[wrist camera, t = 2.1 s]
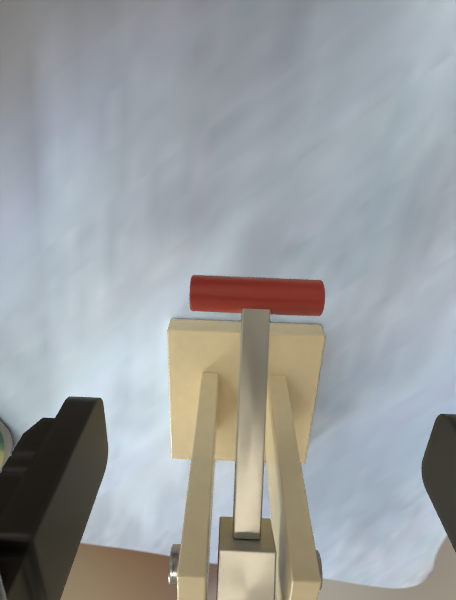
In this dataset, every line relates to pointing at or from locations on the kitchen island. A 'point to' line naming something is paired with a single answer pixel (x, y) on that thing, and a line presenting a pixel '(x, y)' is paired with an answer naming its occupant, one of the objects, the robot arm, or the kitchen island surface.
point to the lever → (251, 421)
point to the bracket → (222, 443)
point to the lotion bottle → (4, 444)
